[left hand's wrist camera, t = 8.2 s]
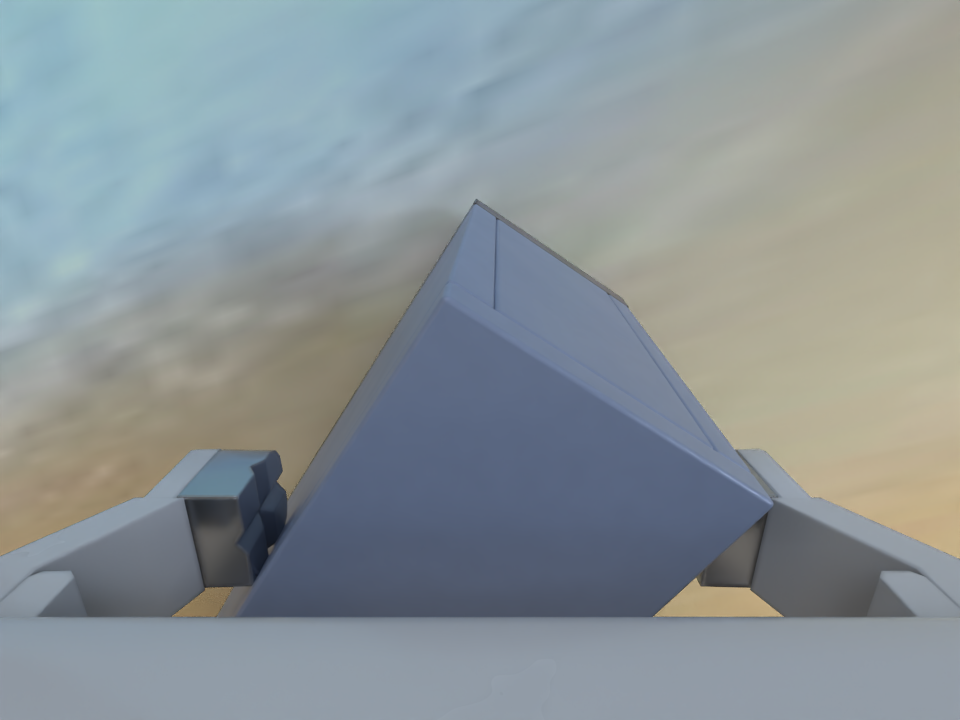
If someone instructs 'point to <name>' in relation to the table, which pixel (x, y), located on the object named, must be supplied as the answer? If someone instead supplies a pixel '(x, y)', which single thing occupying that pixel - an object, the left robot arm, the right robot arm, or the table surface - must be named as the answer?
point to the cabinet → (508, 458)
